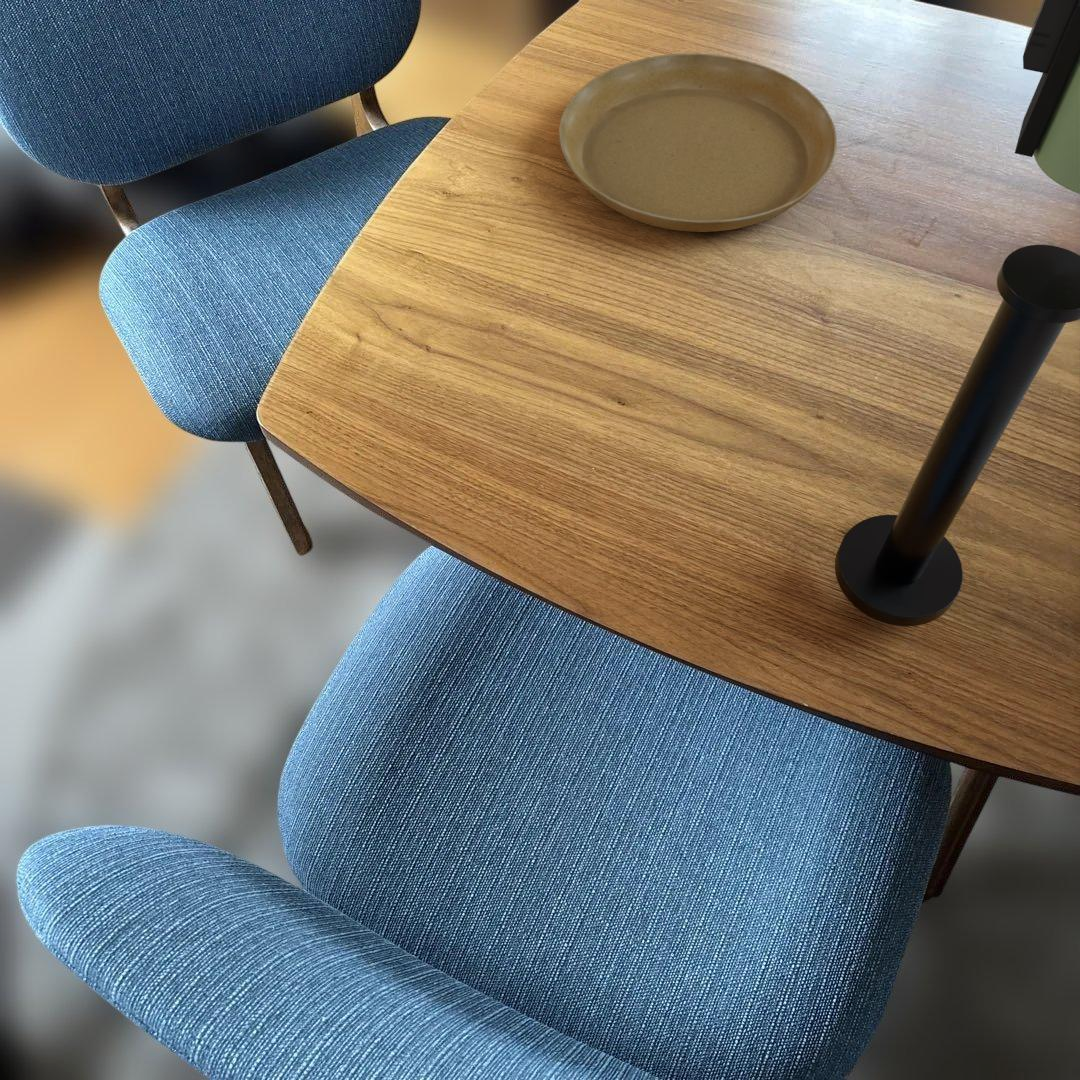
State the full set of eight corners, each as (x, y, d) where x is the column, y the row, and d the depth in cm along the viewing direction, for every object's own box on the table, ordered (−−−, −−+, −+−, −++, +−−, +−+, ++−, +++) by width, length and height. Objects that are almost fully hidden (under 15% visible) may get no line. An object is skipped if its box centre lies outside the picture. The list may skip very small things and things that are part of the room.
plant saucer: (520, 117, 97) (519, 84, 94) (750, 60, 101) (755, 28, 98) (623, 283, 84) (625, 251, 81) (880, 210, 89) (890, 178, 86)
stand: (981, 601, 67) (1184, 309, 46) (877, 643, 66) (1035, 362, 44) (912, 509, 72) (1067, 201, 50) (812, 547, 70) (927, 245, 48)
